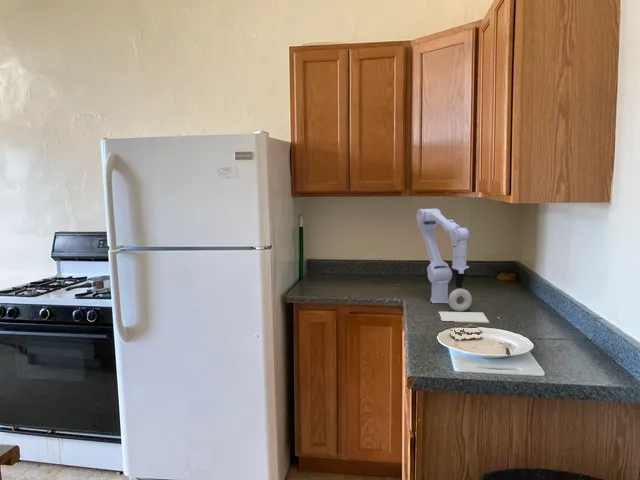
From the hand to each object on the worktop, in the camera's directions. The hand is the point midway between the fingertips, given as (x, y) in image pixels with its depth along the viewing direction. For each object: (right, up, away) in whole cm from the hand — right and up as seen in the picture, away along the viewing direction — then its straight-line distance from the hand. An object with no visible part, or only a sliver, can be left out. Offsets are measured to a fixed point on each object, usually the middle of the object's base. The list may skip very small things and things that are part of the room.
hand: (458, 287), depth 211 cm
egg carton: (-8, -15, -38) cm, 41 cm away
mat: (-2, -11, -13) cm, 17 cm away
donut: (-1, -10, -3) cm, 11 cm away
